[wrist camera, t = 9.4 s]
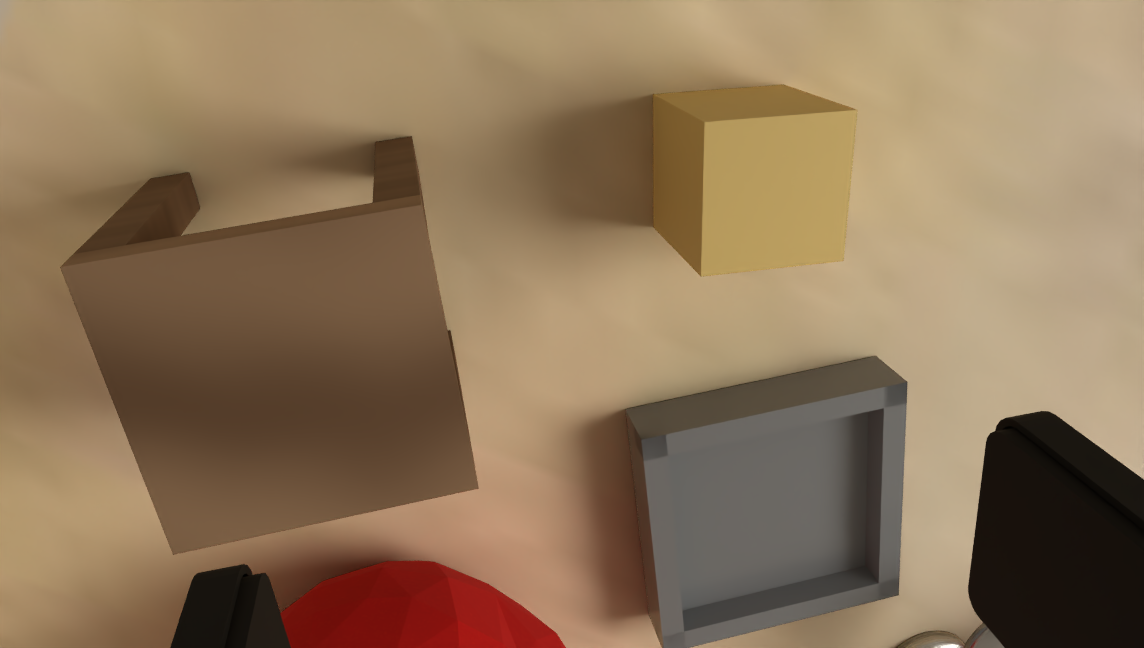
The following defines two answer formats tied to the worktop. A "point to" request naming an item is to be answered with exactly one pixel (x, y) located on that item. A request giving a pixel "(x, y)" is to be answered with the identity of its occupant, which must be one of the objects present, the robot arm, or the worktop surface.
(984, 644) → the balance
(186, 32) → the worktop surface
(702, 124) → the block
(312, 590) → the tomato
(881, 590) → the dish
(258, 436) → the small wooden table
